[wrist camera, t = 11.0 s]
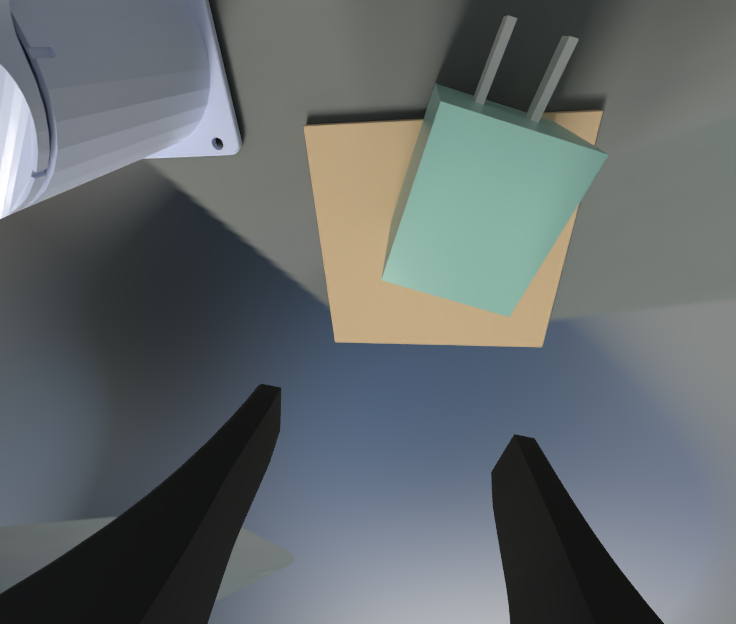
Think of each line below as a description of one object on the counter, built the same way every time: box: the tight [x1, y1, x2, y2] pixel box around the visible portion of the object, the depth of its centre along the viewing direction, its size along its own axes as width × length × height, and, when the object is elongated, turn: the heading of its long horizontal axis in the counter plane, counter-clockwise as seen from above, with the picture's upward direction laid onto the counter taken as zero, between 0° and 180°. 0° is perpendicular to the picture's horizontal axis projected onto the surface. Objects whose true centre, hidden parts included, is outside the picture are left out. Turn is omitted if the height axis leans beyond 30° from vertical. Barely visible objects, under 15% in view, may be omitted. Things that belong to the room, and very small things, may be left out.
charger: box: [381, 15, 609, 317], centre depth 14 cm, size 5×8×6 cm, turn 165°
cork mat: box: [304, 110, 603, 347], centre depth 19 cm, size 12×12×1 cm
